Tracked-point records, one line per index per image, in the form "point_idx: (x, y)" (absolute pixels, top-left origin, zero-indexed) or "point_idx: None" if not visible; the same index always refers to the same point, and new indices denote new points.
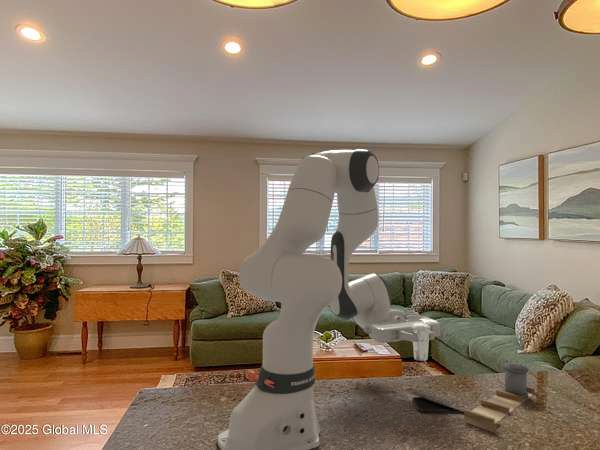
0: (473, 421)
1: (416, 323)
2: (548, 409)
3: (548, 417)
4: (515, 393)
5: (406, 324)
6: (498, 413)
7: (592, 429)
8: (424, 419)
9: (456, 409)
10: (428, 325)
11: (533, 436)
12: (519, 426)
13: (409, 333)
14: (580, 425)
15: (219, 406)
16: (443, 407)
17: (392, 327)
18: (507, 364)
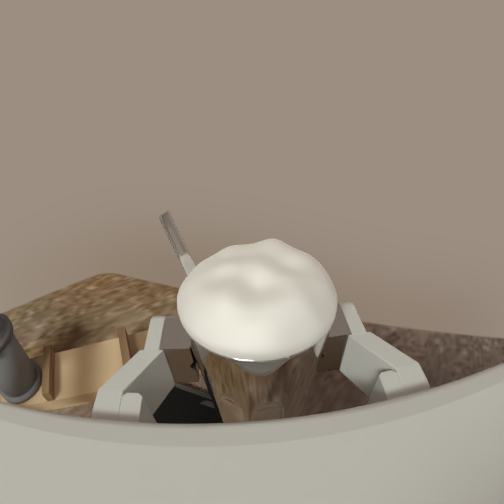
0: None
1: (291, 279)
2: (32, 342)
3: (64, 327)
4: (34, 366)
5: (292, 498)
6: (144, 341)
7: (61, 289)
8: (313, 397)
9: (202, 404)
10: (54, 413)
11: (153, 300)
12: (138, 324)
13: (358, 330)
14: (59, 299)
15: None
16: None
17: (489, 385)
18: None
